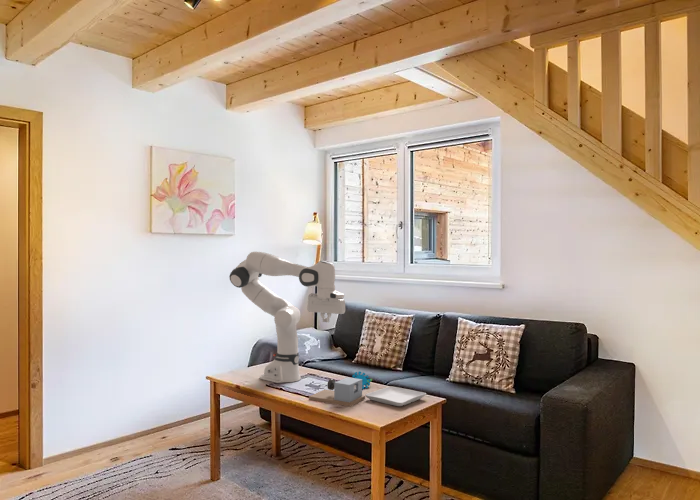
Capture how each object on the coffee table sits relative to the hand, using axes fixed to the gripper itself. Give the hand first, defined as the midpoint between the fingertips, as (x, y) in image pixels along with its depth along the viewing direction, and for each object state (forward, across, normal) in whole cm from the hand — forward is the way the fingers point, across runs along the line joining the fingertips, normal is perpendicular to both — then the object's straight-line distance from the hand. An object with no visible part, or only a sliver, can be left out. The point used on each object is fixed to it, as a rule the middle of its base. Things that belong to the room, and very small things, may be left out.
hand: (325, 322), depth 260 cm
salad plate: (+35, +36, +4) cm, 50 cm away
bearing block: (+34, +12, -9) cm, 37 cm away
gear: (+34, +12, +16) cm, 40 cm away
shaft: (+30, +15, -9) cm, 35 cm away
